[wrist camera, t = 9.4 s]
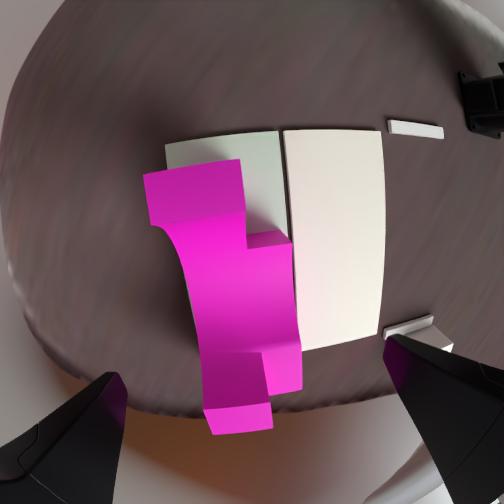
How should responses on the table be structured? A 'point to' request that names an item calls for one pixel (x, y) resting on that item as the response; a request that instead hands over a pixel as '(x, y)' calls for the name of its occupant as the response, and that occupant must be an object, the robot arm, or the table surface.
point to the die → (431, 337)
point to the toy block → (231, 292)
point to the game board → (319, 218)
